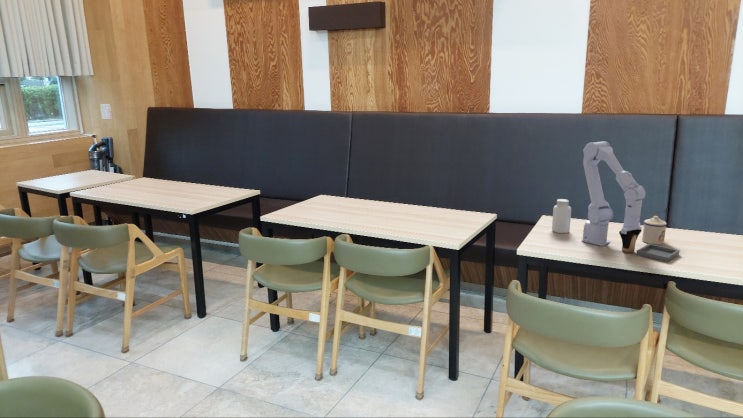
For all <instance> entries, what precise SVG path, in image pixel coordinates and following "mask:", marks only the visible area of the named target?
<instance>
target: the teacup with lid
mask: <svg viewBox="0 0 743 418" xmlns="http://www.w3.org/2000/svg"><path fill="white" fill-rule="evenodd" d="M667 225H668V223H667V222H666V221H665V220H662V219H661V218H659V216H657V215H654V216H653V217H651V218H649V219H647V218H646V219H645V220H643V228H642V230H643V231H642V236H641V241H642V242H644V243H646V244H647V245H648V244H653V245H657V246H660V245H663V244H664V242H665V236H666V229H667Z"/></svg>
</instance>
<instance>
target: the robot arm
mask: <svg viewBox="0 0 743 418" xmlns="http://www.w3.org/2000/svg"><path fill="white" fill-rule="evenodd" d="M582 152H583V160H582V163H583V170H584V174H585V179H586V184H587V188H588V194H589V198H590V204H589V205H588V206H587V210H588V213H587V219H588V220H586V221H585V223H584V225H583V229H582V231H583V234H582V239H581V242H584V243H587V244H592V245H596V246H601V247H603V246H605V245H608V244H609V243H611V241H610V240H608V231H609V224H610V221H611V220H612V219H613V217H614V211H613V209H612V208H611V206H610V203H609V202H608V201H606V199H605V195H604V191H603V187H602V182H601V176H600V173H599V172H600V170H599V167H598V164H599V163H600V162H601V161H603V162H605V163H606V164H607V166H608V167H609V168H610V169H611V170H612V172H613V173H614V174H615V181H616V182H617V183H618V185H619V186H620V187H621V189H622V190H623V192H624V193H623V197H624V199H625V210H624V218H623V219H624V220H623V224H622V228H621V229H620V231H618V232H619V233H618V234H619V235H620V238H621V243H622V244H623V248H625V249H629V247H630V243H631V240H632V238H633V236H634V235H635V234H636V241H637V239H638V238H639V235H640V234H641V233H642V232H643V231H642V230H643V228H642V226H641V225H642V224H641V222H640V220H641V214H642V213H641V212H642V207H643V206H642V205H643V200H644V199H645V198H646V196H647V192H646V189H645V187H644V186H643V185H640V184H639V183H638V182H637V181H636V180H635V179H634V177H633V173H631V172H629V171H627V170H624V168H623V167H622V165H621V163H620V162H619V160H618V159H617V157H616V155H615V154H614V150H613V147H612V146H611V145H610V143H609V142H608V141H605V140H603V141H597V142H588V143H587V144H586V145H585V146H584V148H583V150H582ZM632 233H633V234H632Z"/></svg>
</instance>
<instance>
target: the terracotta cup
mask: <svg viewBox="0 0 743 418" xmlns="http://www.w3.org/2000/svg"><path fill="white" fill-rule="evenodd" d="M632 234H633V233H632ZM636 243H637V240H636V234H635V235H634V236H633V238H632V240H631V243H630V247H629V249H625V248H623V244H622V245H621V251H623V252H624V253H634V252H636V251H635V250H636Z"/></svg>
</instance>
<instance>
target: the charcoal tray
mask: <svg viewBox="0 0 743 418" xmlns="http://www.w3.org/2000/svg"><path fill="white" fill-rule="evenodd" d="M635 252H636V253H635V256H638V257H641V258H647V259H651V260H655V261H659V262H664V263H669V262H671V261H672V260H673V259H675V258H676V257H678V256H680V249H674V248H670V247H668V246H667V247H666V246H661V245H655V244H648V243H647V244H645V245H644V246H642V247H640V248H638V249H637V250H636V251H635Z"/></svg>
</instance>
